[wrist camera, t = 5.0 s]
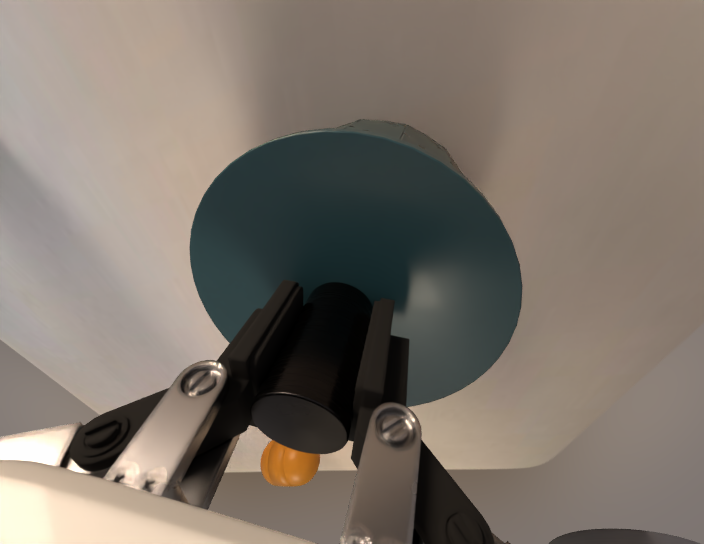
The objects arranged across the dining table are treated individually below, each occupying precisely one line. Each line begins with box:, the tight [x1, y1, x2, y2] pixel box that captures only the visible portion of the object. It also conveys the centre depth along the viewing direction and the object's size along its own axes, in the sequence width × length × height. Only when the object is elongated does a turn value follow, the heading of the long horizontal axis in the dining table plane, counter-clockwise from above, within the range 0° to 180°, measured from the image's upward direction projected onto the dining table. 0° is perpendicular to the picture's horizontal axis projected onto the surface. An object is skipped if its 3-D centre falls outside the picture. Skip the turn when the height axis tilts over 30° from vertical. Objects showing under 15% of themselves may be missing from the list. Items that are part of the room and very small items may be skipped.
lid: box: [190, 128, 522, 454], centre depth 10 cm, size 13×13×6 cm
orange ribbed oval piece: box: [261, 440, 320, 486], centre depth 35 cm, size 8×5×5 cm
